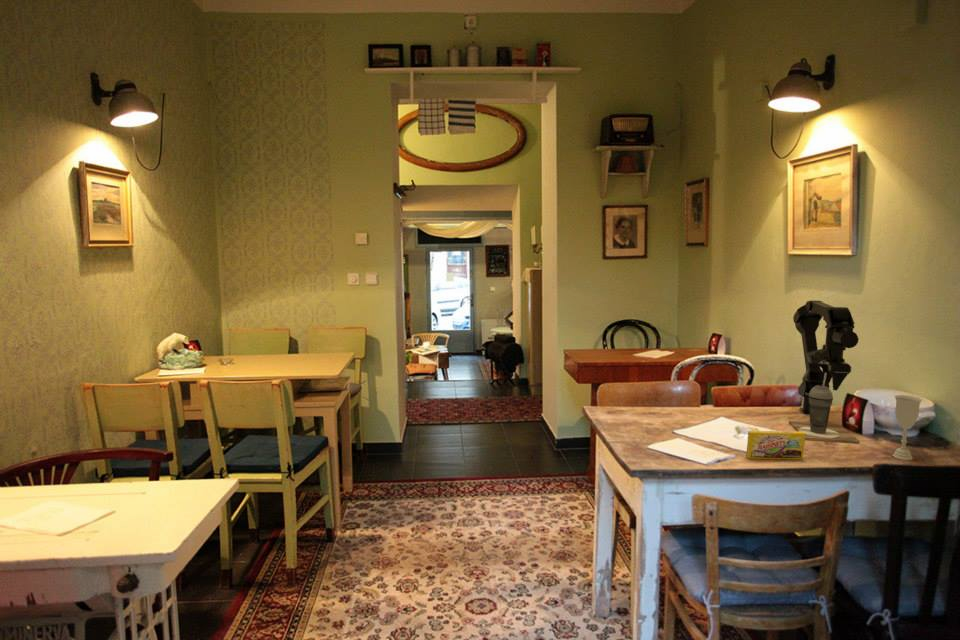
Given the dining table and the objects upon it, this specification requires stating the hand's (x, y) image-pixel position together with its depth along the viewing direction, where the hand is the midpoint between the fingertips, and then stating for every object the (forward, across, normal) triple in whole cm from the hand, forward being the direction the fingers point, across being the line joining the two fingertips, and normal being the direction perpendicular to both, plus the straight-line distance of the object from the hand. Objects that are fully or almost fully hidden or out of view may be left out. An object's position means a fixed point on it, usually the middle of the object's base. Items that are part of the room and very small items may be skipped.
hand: (830, 387), depth 227 cm
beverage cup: (+12, +16, -8) cm, 21 cm away
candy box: (+13, +44, -27) cm, 53 cm away
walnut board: (+13, +13, -5) cm, 19 cm away
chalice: (+13, +34, +11) cm, 38 cm away
